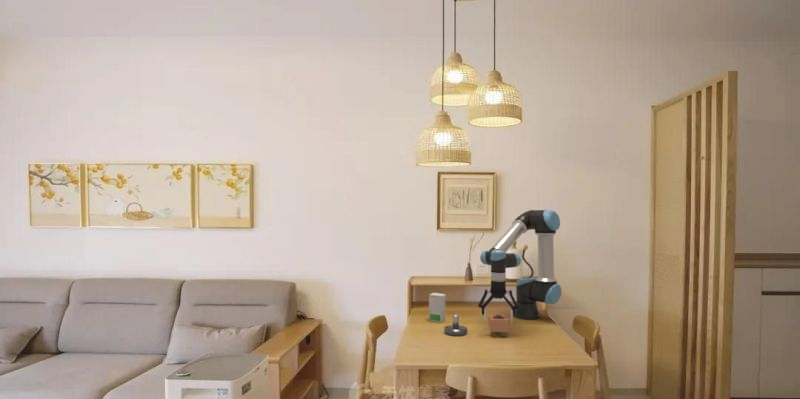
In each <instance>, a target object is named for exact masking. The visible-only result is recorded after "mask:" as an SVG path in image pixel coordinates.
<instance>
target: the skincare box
mask: <svg viewBox="0 0 800 399" xmlns="http://www.w3.org/2000/svg"><path fill="white" fill-rule="evenodd" d="M446 297H447V296H446V293H439V292H432V293H430V294H429V297H428V299H429V300H428V321H429V322H435V323H443V322H445V321H446V299H447V298H446Z"/></svg>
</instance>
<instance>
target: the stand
mask: <svg viewBox="0 0 800 399" xmlns="http://www.w3.org/2000/svg"><path fill="white" fill-rule="evenodd" d="M495 315H496V319H501V316H502V315H500V314H495ZM507 333H508V332H491V331H490V334H491V336H492V338H507V337H508V335H507Z"/></svg>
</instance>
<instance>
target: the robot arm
mask: <svg viewBox="0 0 800 399" xmlns="http://www.w3.org/2000/svg"><path fill="white" fill-rule="evenodd" d="M560 226H561V219H560V216H559V214H558V213H557V212H556V211H555V210H552V209H551V210H549V209H529V210H528V211H527V210H526V211H525V212H523V213H521V214H520V215H519V216H517V217H516V218H515V219H514V220H513V221H512V223H511V226H509V228H508V229H507V230H506V232H505V233H504V234H503V235H502V236H501V237H500V238H499V239H498V240H497V241H496V242H495V244H493V246H491V248H490V249H489V250H484V251H482V252H481V253H480V257H479V258H480V262H481V263H482V264H483V265H487V266H490V289H487V288H485V289H484V293H483V295H482V297H481V298H480V301H479V303H478V305H477V306H478V308H481V314H482V316H483V321H484V322H486V321H487V309H486V307H487V306H488V305H489V304H490V302H492V300H493V299H495V300H496V299H500V300H502V299H504V300H505V302H506V303H507V305H509V307H510V312H509V313H510V314H509V315H510V316H509V318H510V319H509V323H513V321H514V320H513V319H514V318H513V317H515V318H517V319H521V320H537V319H540V311H539V309H538V305H537V302H539V303H544V304H547V305H548V304H550V305H554V304H556V303H558V302H559V300H560V298H561V297H562V287H561V285H560V284H558V280H557V278H555V262H554V258H555V257H554V256H555V255H554V236H555V235H556V233H557V231H558V230H559V229H560ZM529 230H532V231H533V230H534V235H536V236H537V261H538V262H537V264H538V265H537V266H538V267H537V271H538V274H537V275H538V277H526V278H525V277H524V278H523V277H522V278H518V279H517V280H516V281H515V282H516V284H515V285H516V286H515V288H516V290H515V291H516V292H515V293H516V294H515V296H516V298H515V297H514V296H513V290H512V289H508V290H506V289H507V286H506V282H507V281H506V278H507V277H506V276H507V275H506V274H507V273H506V269H509V268H511V269H512V268H513V269H514V268H517V267H519V266H520V265H521V263H522V259H521V256H520V255H519V254H518V253H515V252H511V253H510V252H508V250H509V249H510V248H511V247H512V246H513V245H514V244H515V242H517V240H518V239H519V238H520V236H522V235H523V234H525V233H527V231H529ZM507 252H508V253H507ZM489 293H490V294H491V295H490V296H489V297H488V298H487V296H488V294H489ZM507 294H508V295H509V296H510V299H511V301H512V303H513V304H512V303H511V301H509V300H510V299H508V298H507V296H506V295H507ZM486 298H487V299H486ZM485 299H486V301H485Z"/></svg>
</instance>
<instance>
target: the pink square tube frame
mask: <svg viewBox="0 0 800 399" xmlns="http://www.w3.org/2000/svg"><path fill="white" fill-rule="evenodd" d="M496 315H497V314H495V315H491V314H490V315H489V314H488V327H489V331H490V333H491V332H507V333H509V332H510V319H509V317H508V316H507V315H501V319H496Z"/></svg>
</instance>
